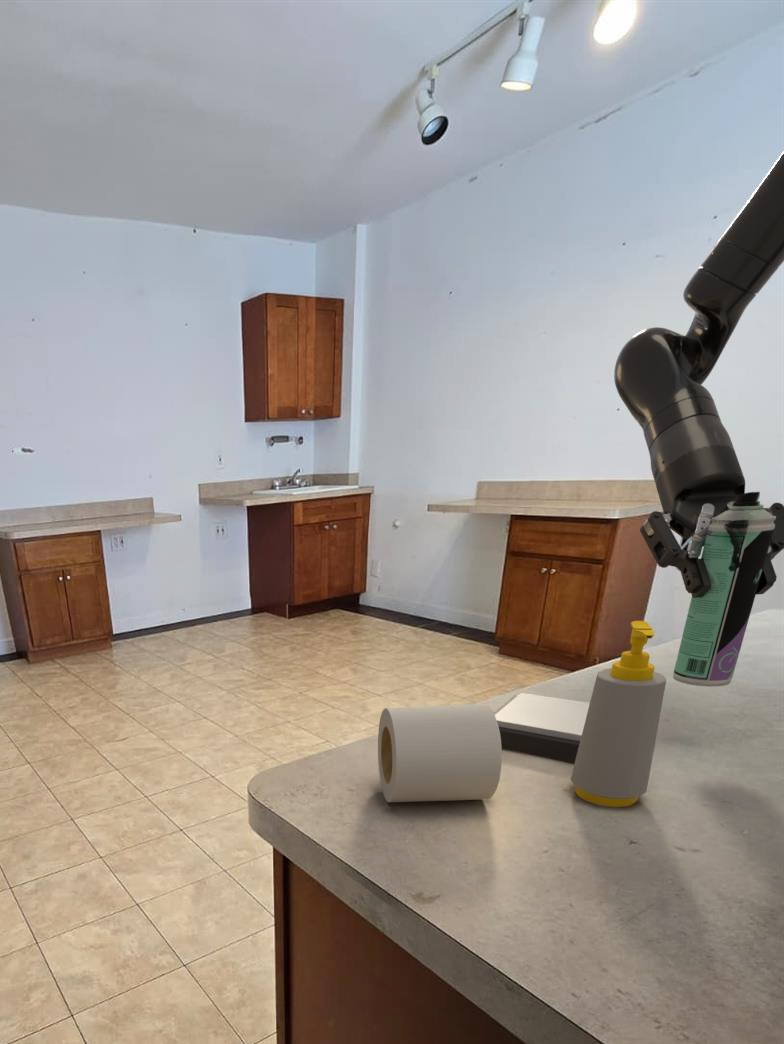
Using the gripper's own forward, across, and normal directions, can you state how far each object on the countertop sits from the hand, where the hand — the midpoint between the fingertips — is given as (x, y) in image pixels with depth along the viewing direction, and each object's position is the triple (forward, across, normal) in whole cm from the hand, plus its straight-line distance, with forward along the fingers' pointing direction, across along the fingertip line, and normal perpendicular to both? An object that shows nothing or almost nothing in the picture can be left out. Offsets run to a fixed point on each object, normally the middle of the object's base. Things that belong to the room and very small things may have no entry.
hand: (733, 591), depth 68 cm
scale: (+10, -14, +16) cm, 23 cm away
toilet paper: (+21, -33, +5) cm, 39 cm away
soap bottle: (+21, -15, +5) cm, 26 cm away
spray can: (+6, 0, +8) cm, 11 cm away
